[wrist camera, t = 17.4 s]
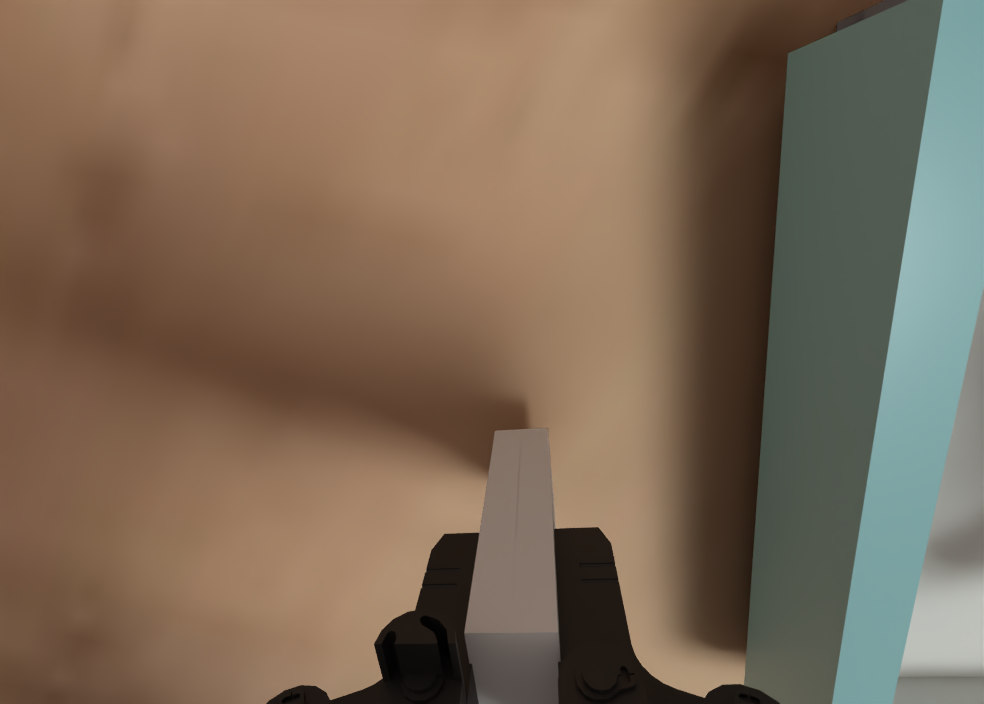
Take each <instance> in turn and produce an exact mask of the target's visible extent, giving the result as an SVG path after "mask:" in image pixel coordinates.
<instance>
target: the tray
mask: <svg viewBox="0 0 984 704" xmlns="http://www.w3.org/2000/svg"><path fill="white" fill-rule="evenodd" d="M744 686H748V687H751V688H754V689H758V690H760V691H762V692H763V693H765V694H767V695H768V696H770V697H771V698H773V699H775V700H776V701H778V702H779V703H780V704H984V0H908V1H905V2H903V3H901V4H899V5H896V6H894V7H892V8H890V9H887V10H885V11H883V12H880V13H878V14H876V15H874V16H871V17H869V18H867V19H865V20H862V21H860V22H858V23H856V24H853V25H851V26H849V27H847V28H844V29H842V30H840V31H837V32H835V33H833V34H831V35H828V36H826V37H824V38H822V39H819V40H817V41H815V42H813V43H810V44H808V45H806V46H803V47H801V48H799V49H797V50H794V51H792V52H790V53H788V61H787V76H786V90H785V105H784V119H783V133H782V148H781V162H780V177H779V191H778V205H777V220H776V234H775V249H774V263H773V277H772V292H771V306H770V321H769V335H768V349H767V364H766V378H765V392H764V407H763V421H762V436H761V450H760V464H759V479H758V493H757V508H756V522H755V536H754V551H753V565H752V580H751V594H750V608H749V623H748V637H747V652H746V666H745V680H744Z"/></svg>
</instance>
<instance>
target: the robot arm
mask: <svg viewBox="0 0 984 704" xmlns="http://www.w3.org/2000/svg"><path fill="white" fill-rule="evenodd" d="M374 646H375V650H376V654H377V658H378V661H379V665H380V669H381V673H382V677H383V679H381V680H380V681H379V682H377V683H376V684H374V685H372V686H370V687H368V688H365V689H363V690H361V691H358V692H354V693H351V694H348V695H345V696H342V697H339V698H336V699H333V700H330V699H329V697H328V695H327V693H326V692H325V691H323V690H321V689H320V688H318V687H316V686H304V685H301V686H297V687H294V688H291V689H288V690H285V691H283V692H282V693H280V694H279V695H277V696H276V697H274V698H273V699H271V700H270V701H268V702H267V703H266V704H780V703H779V702H778V701H776V700H775V699H773V698H771V697H770V696H768V695H767V694H765V693H763V692H762V691H760V690H758V689H754V688H751V687H748V686H744V685H741V684H732V685H721V686H719V687H717V688H715V689H713V690H712V691H710V692H708V694H707V695H706V697H705V698H703V697H700V696H696V695H693V694H690V693H687V692H684V691H681V690H678V689H675V688H673V687H670V686H668V685H666V684H663V683H662V682H660V681H659V680H658V679H656V678H655V677H653V676H652V675H651V674H650V673H649V672H648V671H647V670H646V669H645V668H644V667H643V666H642V665H641V664H640V662H639V660H638V659H637V657H636V656H635V653H634V651H633V648H632V645H631V640H630V635H629V630H628V625H627V620H626V615H625V610H624V605H623V601H622V596H621V591H620V586H619V582H618V576H617V571H616V566H615V561H614V556H613V551H612V546H611V543H610V542H609V540H608V539H607V538H606V536H605V535H604V534H603V533H602V531H601V530H600V529H599V528H598V527H593V528H563V529H556V527H555V510H554V497H553V484H552V472H551V459H550V446H549V434H548V428H535V429H517V430H499V431H495V434H494V441H493V447H492V454H491V461H490V467H489V474H488V480H487V487H486V493H485V500H484V507H483V513H482V520H481V526H480V533H457V534H444V535H443V536H442V538H441V539H440V540H439V541H438V543H437V544H436V545H435V546H434V548H433V549H432V550H431V554H430V558H429V561H428V565H427V572H426V573H425V576H424V580H423V584H422V588H421V591H420V595H419V598H418V602H417V606H416V609H415V611H410V612H407V613H405V614H403V615H401V616H399V617H397V618H395V619H393V620H392V621H391V622H390V623H389V624H388V625H387V626H386V627H385V628H384V629H383V630H382V631H381V633H380V634H379V636H378V638H377V640H376V642H375V644H374Z"/></svg>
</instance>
